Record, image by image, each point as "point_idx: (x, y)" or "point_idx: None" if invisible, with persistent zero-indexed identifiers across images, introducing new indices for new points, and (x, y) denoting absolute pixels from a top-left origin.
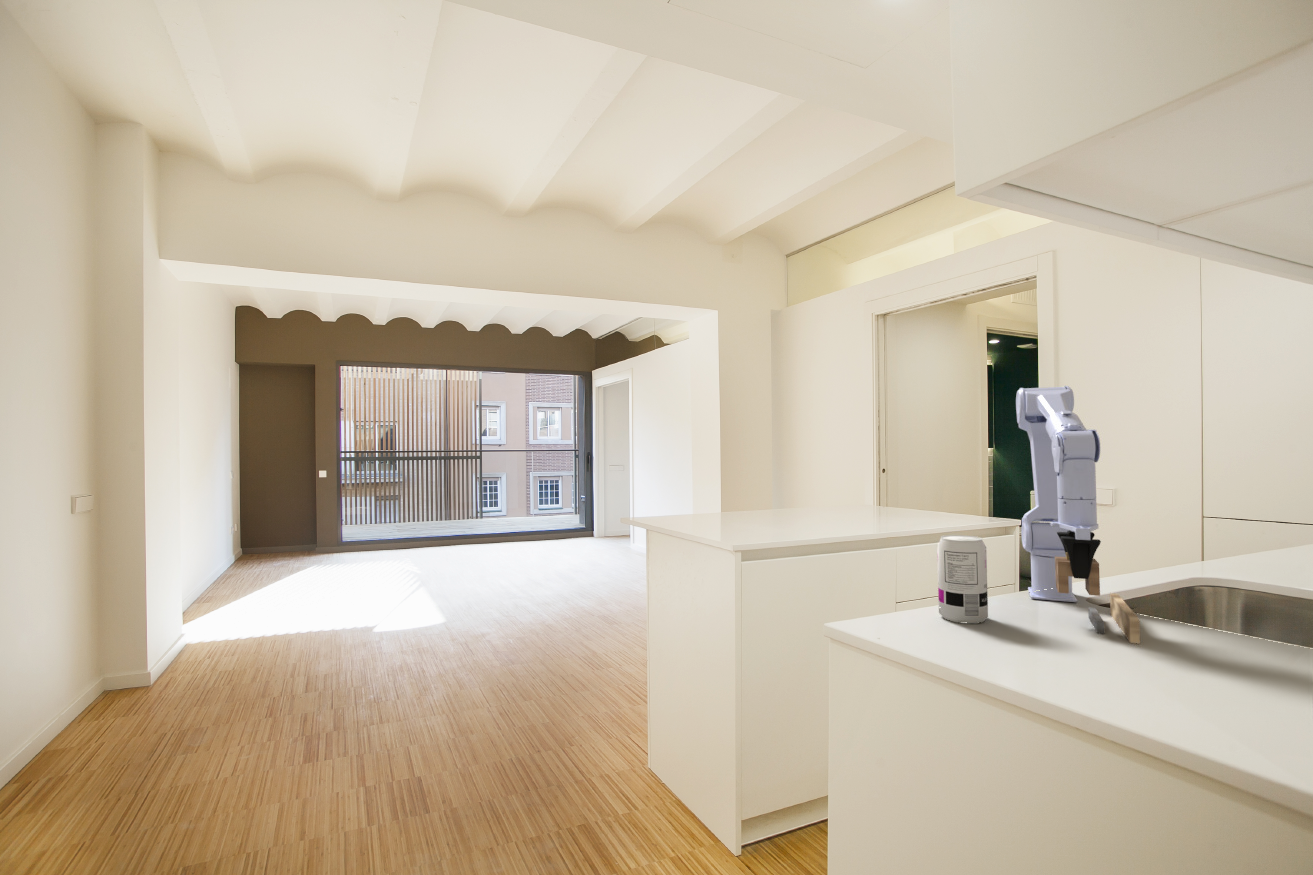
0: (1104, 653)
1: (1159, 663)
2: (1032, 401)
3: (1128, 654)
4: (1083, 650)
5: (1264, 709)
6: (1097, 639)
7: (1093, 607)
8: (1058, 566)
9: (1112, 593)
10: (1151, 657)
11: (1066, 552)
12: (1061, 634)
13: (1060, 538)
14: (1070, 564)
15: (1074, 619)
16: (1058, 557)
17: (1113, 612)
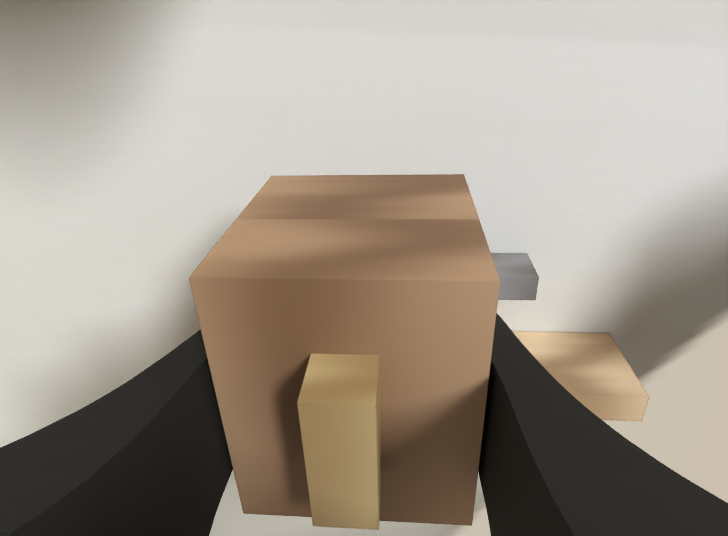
0: (32, 239)
1: (41, 352)
2: None
3: (74, 299)
4: (17, 181)
5: None
6: (197, 241)
7: (534, 295)
8: (210, 257)
9: (646, 404)
10: (87, 346)
11: (357, 408)
12: (191, 124)
13: (561, 518)
14: (194, 352)
15: (481, 198)
16: (444, 305)
17: (540, 348)
